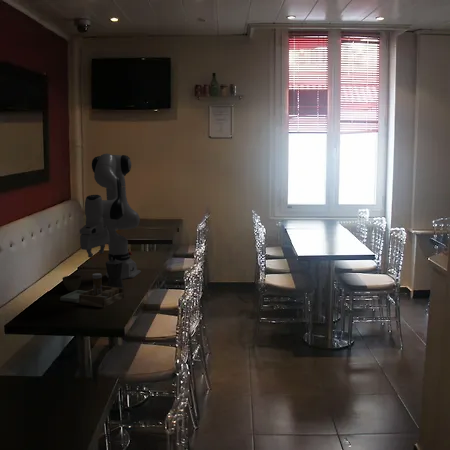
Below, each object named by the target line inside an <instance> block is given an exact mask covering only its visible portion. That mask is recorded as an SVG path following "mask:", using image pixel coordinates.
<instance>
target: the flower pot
mask: <svg viewBox="0 0 450 450" xmlns="http://www.w3.org/2000/svg"><path fill="white" fill-rule="evenodd" d="M82 279H83V277H82V275H80V274H79V275H78V274H70V275H66V276H62V282H63V285H64V287H65V289H66V290H67V291H68V292H73V291H76V290H79V289H80V286H81V283H82Z"/></svg>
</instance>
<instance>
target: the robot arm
mask: <svg viewBox="0 0 450 450" xmlns="http://www.w3.org/2000/svg"><path fill="white" fill-rule="evenodd" d="M91 169H92V172H93V175H94V176H93V177H94V180H95V182H96V184H98V185H99V186H100V187H102V188H104V189H105V192H106V199H104V200H103V198H102V196H101V195H99V194H90V195H87V196H86V197H85V204H84V215H85V225H84V226H82V227H81V228H80V229H79V234H80V236H79V243H80V244H79V245H80V249H81V250H83V251H84V250H85V251H86V253H87V257H88V258H94V254H93V253H92V249H94V248H97V247H100V248H99V250H98V253H99V254H100V255H103V254H104V250H105V248H106V245H107V244H108V255H107V257H108V258H107V259H108V261H110V259H113V257H116V258H115V260H119V261H123V265H122V273H121V277H122V280H124V279H133V278H135V277H137V276H138V275H139V274H141V272H142V271H141V270H140V269H138V267H137V263H136V262H135V261H134V260H133V259H132V258H131V256H132V255H133V252H132V251H129V241H128V239H127V238H126V236H123V235H121V234H119V233H118V232H117V231H118V230H119V231H121V230H123V231H124V230H131V229H136V228H138V226H139V224H140V221H141V217H140V215H139V213H138V212H137V211H136V210H134V209H133V208H132V207H131V206H130V204H129V202H128V197H127V190H126V188H127V187H126V178H125V177H126V175H127V174H129V173H130V171H131V169H132V161H131V158H130V157H129V156H128V155H125V154H122V155H121V154H110V153H103V154H101V155H98V156H95V157H94V158H93V159H92V161H91ZM104 276H106V278H107V279H108V278H109V275H108V273H107V272H106V273H105V275H104Z"/></svg>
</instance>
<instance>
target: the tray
mask: <svg viewBox="0 0 450 450" xmlns="http://www.w3.org/2000/svg"><path fill="white" fill-rule="evenodd" d="M87 291H88V290H81V289H78V290H76V291H70V292H68V293H66V294H64V295H61V296H60V297H59V298H60V299H59V301H60V302H67V303H75V304H77V303H80V302H79V295H80V294H82V293H84V292H87Z"/></svg>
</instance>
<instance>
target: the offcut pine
mask: <svg viewBox="0 0 450 450" xmlns="http://www.w3.org/2000/svg"><path fill="white" fill-rule="evenodd" d="M102 296H108V298H110V297H112V296H113V293H112V291H110V290H105V291H103V292H102Z"/></svg>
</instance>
